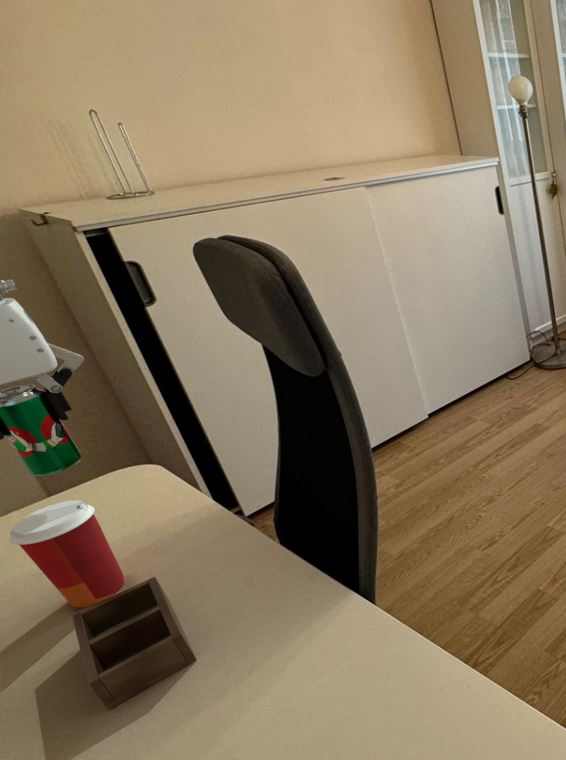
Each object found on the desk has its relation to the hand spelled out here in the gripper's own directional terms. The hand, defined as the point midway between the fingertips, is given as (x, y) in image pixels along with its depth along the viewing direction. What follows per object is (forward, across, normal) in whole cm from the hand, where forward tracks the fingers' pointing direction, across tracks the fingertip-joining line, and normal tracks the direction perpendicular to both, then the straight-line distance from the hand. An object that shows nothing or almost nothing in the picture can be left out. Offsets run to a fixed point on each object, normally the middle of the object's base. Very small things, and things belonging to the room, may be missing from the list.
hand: (32, 425), depth 74 cm
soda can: (+7, 0, 0) cm, 7 cm away
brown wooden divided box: (+26, +2, +22) cm, 34 cm away
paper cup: (+26, +3, +4) cm, 26 cm away
